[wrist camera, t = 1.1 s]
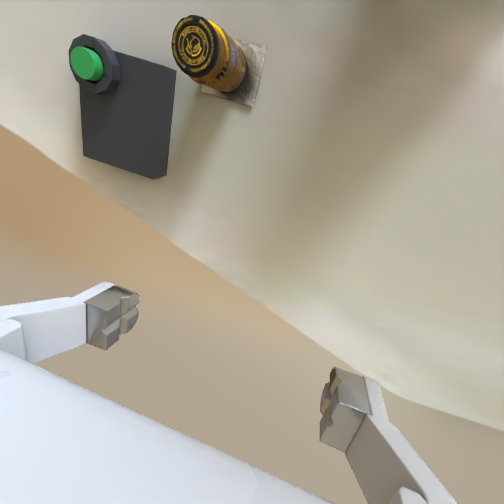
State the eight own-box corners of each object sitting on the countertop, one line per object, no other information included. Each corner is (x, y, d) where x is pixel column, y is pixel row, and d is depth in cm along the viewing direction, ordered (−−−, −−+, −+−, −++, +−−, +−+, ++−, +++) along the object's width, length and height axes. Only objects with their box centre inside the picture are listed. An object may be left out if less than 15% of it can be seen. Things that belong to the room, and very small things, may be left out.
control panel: (98, 41, 39) (64, 28, 34) (177, 64, 38) (155, 55, 33) (101, 153, 47) (74, 157, 42) (166, 175, 47) (147, 181, 41)
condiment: (209, 31, 36) (166, -6, 25) (267, 47, 35) (247, 16, 25) (201, 91, 39) (160, 80, 29) (253, 106, 39) (231, 101, 28)
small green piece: (79, 46, 35) (68, 42, 33) (103, 53, 35) (94, 50, 33) (81, 77, 37) (71, 75, 35) (104, 84, 36) (95, 82, 35)
